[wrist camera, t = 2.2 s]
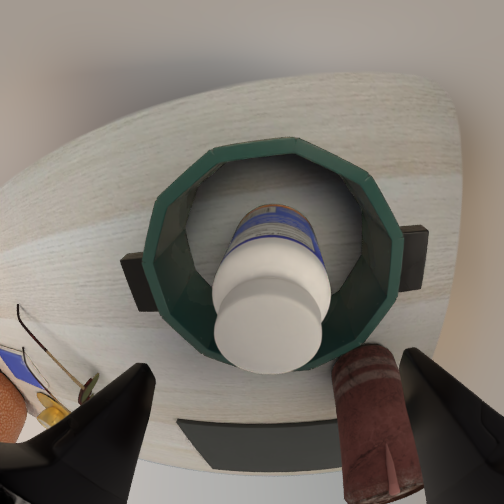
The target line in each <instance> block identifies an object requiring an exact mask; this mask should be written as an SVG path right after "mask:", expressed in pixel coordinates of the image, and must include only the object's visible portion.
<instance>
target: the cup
mask: <svg viewBox="0 0 504 504" xmlns="http://www.w3.org/2000/svg"><path fill="white" fill-rule="evenodd" d="M37 397H38V399H39V401H40V402H41V403H42V405H43V406H44V407H45V408H46V409H45V410H43V411H42V412H41V413H40V414H39V416H38V417H37V420H38V421H39V422H40V423H41V424H42V425H43V426H44V427H45V428H46V429H48V428H50V427H52V426H53V425H55V424H56V423H58V422H59V421H61V420H62V419H63V418H65V417H66V416H67V415H69V413H68V412H67V411H66V410H65V409H64V408H63V407H62V406H60V405H59V404H58V403H56V402H55V401H54V400H52V399H51V398H49V397H47V396H46V395H44V394H41V393H37Z"/></svg>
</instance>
